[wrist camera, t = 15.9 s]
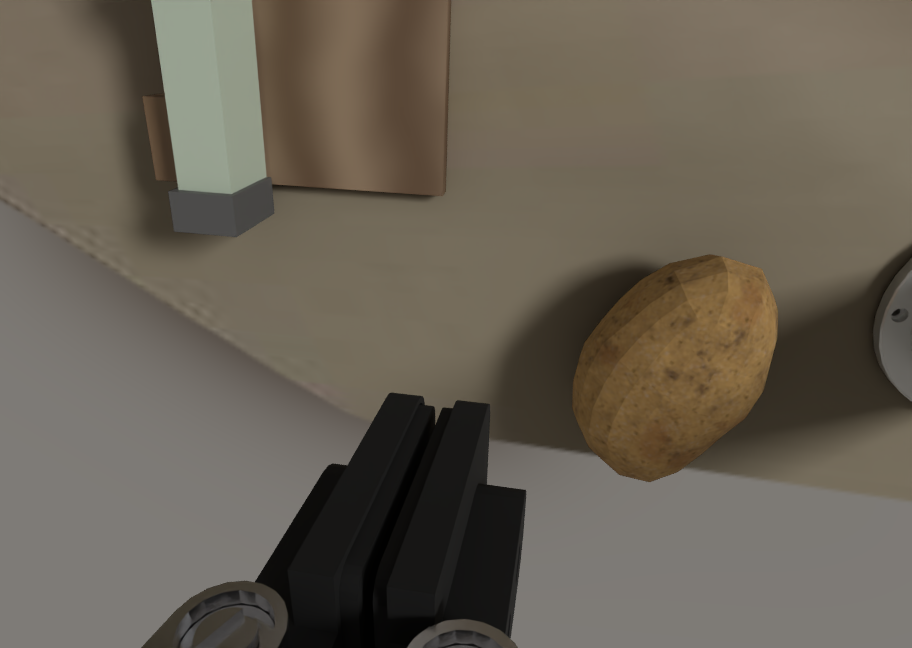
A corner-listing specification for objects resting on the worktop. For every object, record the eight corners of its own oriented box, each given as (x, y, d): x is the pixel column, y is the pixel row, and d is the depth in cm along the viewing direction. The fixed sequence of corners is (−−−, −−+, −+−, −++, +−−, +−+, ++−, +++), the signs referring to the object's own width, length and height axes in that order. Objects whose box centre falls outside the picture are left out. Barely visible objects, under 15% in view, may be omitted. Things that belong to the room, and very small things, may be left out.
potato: (801, 272, 37) (860, 329, 30) (669, 445, 43) (691, 528, 36) (653, 199, 36) (676, 240, 29) (540, 385, 42) (537, 456, 35)
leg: (177, -98, 32) (115, -119, 28) (254, -96, 32) (203, -118, 27) (214, 208, 39) (169, 231, 34) (278, 213, 38) (241, 237, 34)
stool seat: (455, -156, 31) (425, -212, 24) (445, 191, 38) (420, 227, 31) (149, -157, 33) (37, -209, 26) (195, 174, 40) (118, 204, 33)
